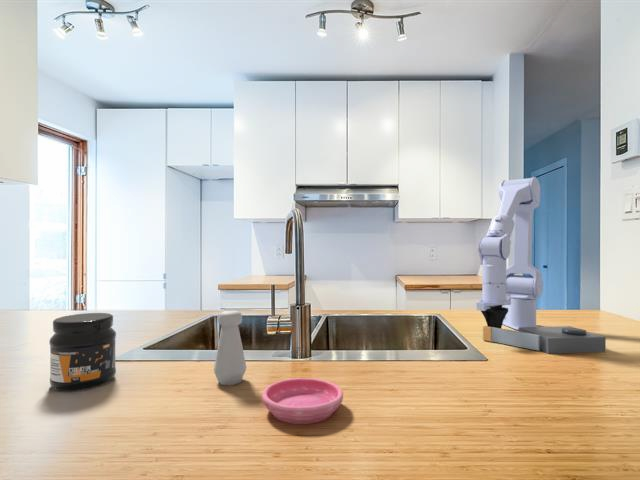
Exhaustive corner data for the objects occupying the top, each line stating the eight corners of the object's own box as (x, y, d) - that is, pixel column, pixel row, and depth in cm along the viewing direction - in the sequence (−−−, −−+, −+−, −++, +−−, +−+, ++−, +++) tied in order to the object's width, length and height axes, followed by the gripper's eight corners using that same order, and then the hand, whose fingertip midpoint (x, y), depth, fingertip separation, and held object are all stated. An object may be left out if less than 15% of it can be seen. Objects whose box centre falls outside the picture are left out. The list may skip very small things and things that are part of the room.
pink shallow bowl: (299, 389, 69) (299, 371, 69) (358, 408, 61) (358, 388, 61) (244, 413, 59) (244, 393, 59) (306, 440, 51) (306, 416, 51)
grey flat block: (518, 340, 101) (518, 324, 101) (570, 339, 102) (570, 323, 102) (548, 353, 89) (548, 334, 89) (605, 352, 90) (605, 333, 90)
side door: (483, 340, 101) (483, 326, 101) (485, 339, 101) (485, 325, 101) (537, 351, 90) (537, 336, 90) (539, 350, 91) (539, 335, 91)
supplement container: (38, 396, 65) (38, 325, 65) (62, 375, 76) (62, 313, 76) (108, 389, 68) (108, 321, 68) (121, 370, 78) (121, 310, 78)
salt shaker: (242, 387, 69) (242, 314, 69) (210, 387, 69) (210, 314, 69) (249, 376, 75) (248, 308, 75) (219, 376, 75) (219, 308, 75)
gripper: (496, 286, 93) (496, 343, 93) (522, 282, 102) (522, 333, 102) (468, 283, 98) (468, 337, 98) (496, 280, 108) (496, 329, 108)
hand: (494, 335), depth 101 cm, fingers closed
